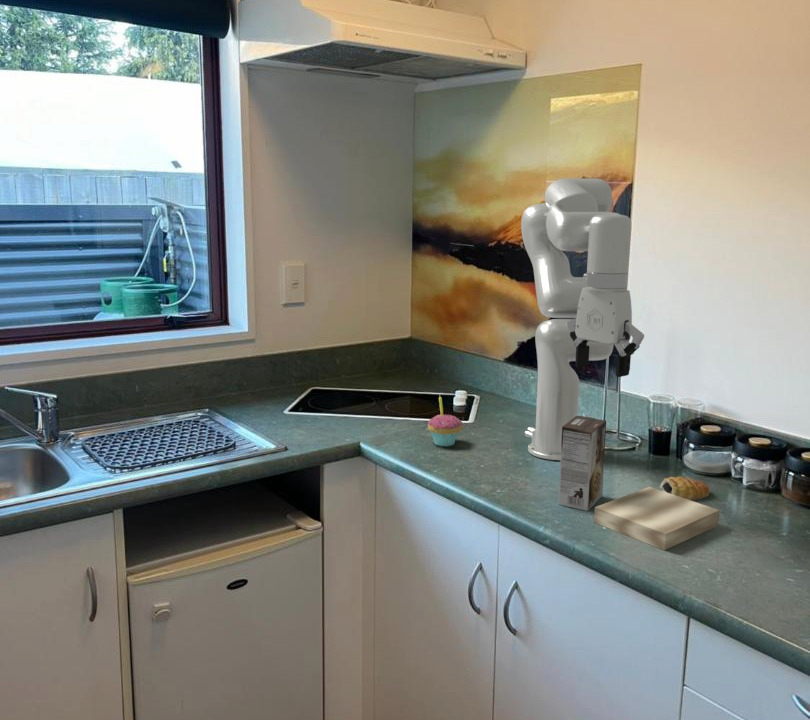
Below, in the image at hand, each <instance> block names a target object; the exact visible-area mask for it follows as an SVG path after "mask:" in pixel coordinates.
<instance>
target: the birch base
mask: <svg viewBox="0 0 810 720" xmlns="http://www.w3.org/2000/svg"><path fill="white" fill-rule="evenodd" d="M720 511H721V510H720V509H718V508H714V507H711V506H709V505H704V504H702V503H699V502H696V501H694V500H688V499H685V498H682V497H679V496H676V495H673V494H670V493H667V492H664V491H661V489H657V488H655V487H651V486H646V487H644V488H643V489H639V490H637V491H635V492H631V493H630V494H626V495H623V496H621V497H618V498H616V499H613V500H610V501H607V502H605V503H602V504H599V505H597V506H594V516H593V523H594V522H595V524H597V525H600V526H602V527H604V528H608V529H610V530H613V532H617V533H620V534H622V535H624V536H627V537H630V538H632V539H635V540H637V541H640V542H642V543H645V544H647V545H651V546H653V547H655V548H657V549H659V550H662V551H666V550H669V549H670V548H673V547H675V546H677V545H679V544H682V543H683V542H686V541H688V540H690V539H692V538H695V537H696V536H699V535H701V534H703V533H705V532H707V531H709V530H711V529H714V528H716V527H718V526H719V520H720Z"/></svg>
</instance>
